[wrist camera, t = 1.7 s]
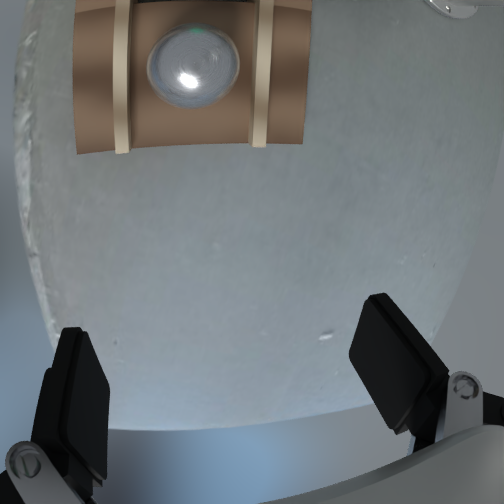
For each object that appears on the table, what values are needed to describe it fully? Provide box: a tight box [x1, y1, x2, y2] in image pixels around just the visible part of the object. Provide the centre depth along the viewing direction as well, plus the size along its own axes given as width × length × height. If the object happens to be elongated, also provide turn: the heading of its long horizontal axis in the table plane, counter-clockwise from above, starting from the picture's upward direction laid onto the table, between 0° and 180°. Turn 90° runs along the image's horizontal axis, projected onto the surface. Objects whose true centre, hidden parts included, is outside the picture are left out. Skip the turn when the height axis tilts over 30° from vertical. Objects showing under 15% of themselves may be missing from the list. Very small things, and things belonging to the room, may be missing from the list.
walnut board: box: [73, 0, 312, 155], centre depth 19 cm, size 22×18×4 cm
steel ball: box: [146, 22, 240, 109], centre depth 18 cm, size 6×6×6 cm
